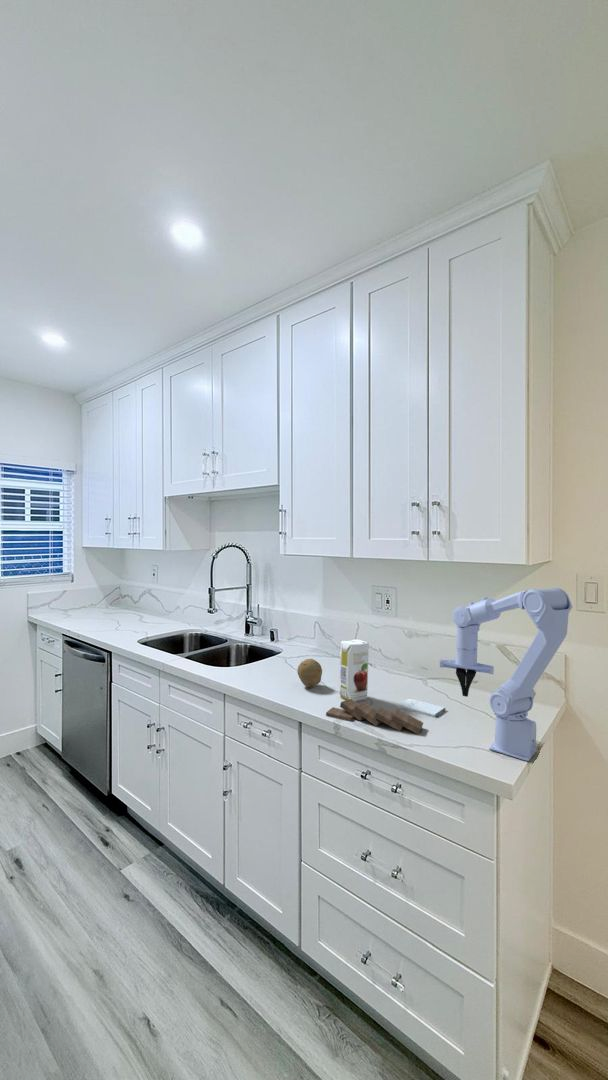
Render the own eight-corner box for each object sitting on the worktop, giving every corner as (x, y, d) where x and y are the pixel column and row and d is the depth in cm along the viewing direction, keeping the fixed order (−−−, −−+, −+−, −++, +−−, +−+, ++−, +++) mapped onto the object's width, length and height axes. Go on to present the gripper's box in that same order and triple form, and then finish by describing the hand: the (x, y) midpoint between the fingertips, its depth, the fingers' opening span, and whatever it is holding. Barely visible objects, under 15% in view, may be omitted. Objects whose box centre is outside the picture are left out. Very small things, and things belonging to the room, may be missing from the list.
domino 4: (406, 719, 135) (380, 706, 138) (402, 726, 130) (376, 712, 134) (404, 724, 135) (378, 711, 138) (400, 731, 131) (374, 717, 134)
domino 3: (386, 716, 137) (364, 701, 142) (378, 721, 133) (355, 705, 138) (384, 721, 137) (362, 706, 142) (376, 726, 133) (353, 710, 138)
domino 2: (371, 712, 140) (351, 698, 145) (361, 715, 136) (341, 701, 142) (370, 717, 140) (349, 703, 146) (360, 720, 137) (339, 706, 142)
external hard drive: (434, 719, 141) (397, 709, 149) (445, 712, 148) (409, 702, 156) (434, 714, 141) (397, 704, 149) (445, 707, 148) (409, 697, 155)
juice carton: (336, 696, 157) (337, 640, 157) (356, 692, 162) (357, 638, 162) (350, 703, 151) (351, 645, 151) (370, 699, 156) (372, 642, 155)
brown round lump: (301, 681, 173) (302, 654, 173) (324, 684, 170) (325, 657, 170) (294, 689, 164) (294, 660, 164) (318, 692, 162) (319, 663, 161)
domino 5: (423, 722, 133) (397, 709, 136) (420, 729, 129) (393, 715, 132) (421, 727, 133) (395, 714, 136) (418, 734, 129) (391, 720, 132)
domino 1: (357, 712, 141) (332, 707, 145) (351, 717, 137) (326, 712, 140) (356, 717, 141) (332, 712, 145) (350, 723, 137) (326, 717, 140)
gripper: (494, 648, 135) (493, 695, 135) (442, 642, 141) (441, 687, 141) (493, 653, 128) (492, 702, 128) (439, 647, 134) (437, 694, 134)
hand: (465, 695), depth 134 cm, fingers closed
